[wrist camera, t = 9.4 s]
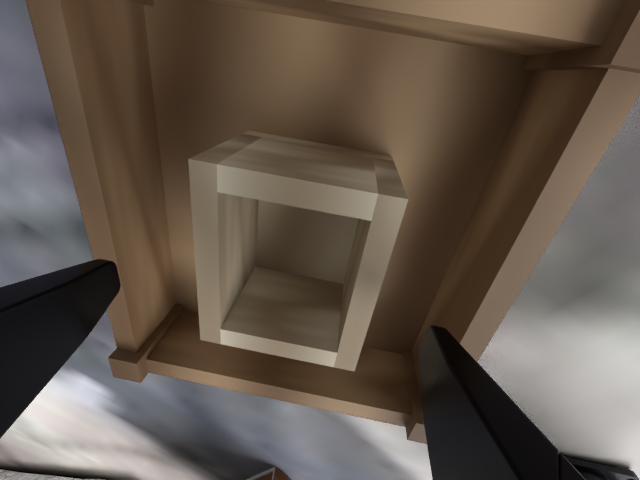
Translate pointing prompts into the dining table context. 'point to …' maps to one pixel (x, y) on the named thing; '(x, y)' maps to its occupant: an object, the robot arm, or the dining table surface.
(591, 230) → the dining table surface
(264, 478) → the food container
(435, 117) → the crate
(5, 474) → the cookie jar
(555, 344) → the dining table surface
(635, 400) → the dining table surface
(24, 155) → the dining table surface
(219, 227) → the pale crate
